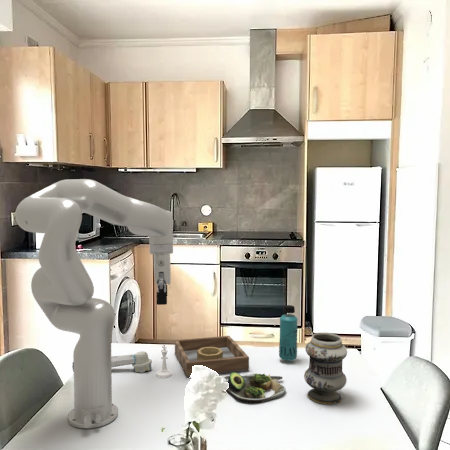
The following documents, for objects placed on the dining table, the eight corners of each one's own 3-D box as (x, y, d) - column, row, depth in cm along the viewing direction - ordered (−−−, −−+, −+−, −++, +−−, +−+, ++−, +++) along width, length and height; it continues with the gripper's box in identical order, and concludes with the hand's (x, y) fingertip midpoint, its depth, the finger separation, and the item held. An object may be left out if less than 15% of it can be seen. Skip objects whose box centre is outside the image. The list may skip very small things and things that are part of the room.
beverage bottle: (277, 363, 152) (278, 307, 151) (280, 356, 159) (281, 303, 157) (295, 365, 150) (296, 309, 149) (298, 359, 157) (299, 304, 155)
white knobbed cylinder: (75, 357, 147) (150, 346, 148) (78, 376, 147) (153, 365, 149) (71, 363, 141) (148, 351, 143) (74, 383, 142) (151, 371, 143)
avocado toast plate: (268, 373, 145) (268, 359, 145) (300, 395, 129) (300, 380, 129) (216, 383, 136) (216, 369, 136) (243, 409, 120) (243, 392, 120)
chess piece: (164, 370, 146) (164, 341, 145) (175, 374, 143) (175, 344, 142) (153, 375, 142) (153, 345, 141) (163, 379, 139) (163, 348, 138)
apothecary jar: (325, 410, 119) (326, 346, 118) (295, 393, 129) (296, 334, 128) (354, 399, 126) (356, 338, 124) (324, 384, 136) (325, 327, 134)
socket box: (248, 371, 145) (248, 357, 145) (186, 378, 139) (186, 363, 139) (228, 348, 167) (229, 335, 167) (174, 353, 161) (174, 340, 161)
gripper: (173, 252, 132) (173, 307, 134) (173, 244, 150) (173, 293, 151) (148, 252, 132) (149, 308, 133) (150, 245, 149) (151, 294, 150)
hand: (162, 300), depth 142 cm, fingers open, 9 cm apart
